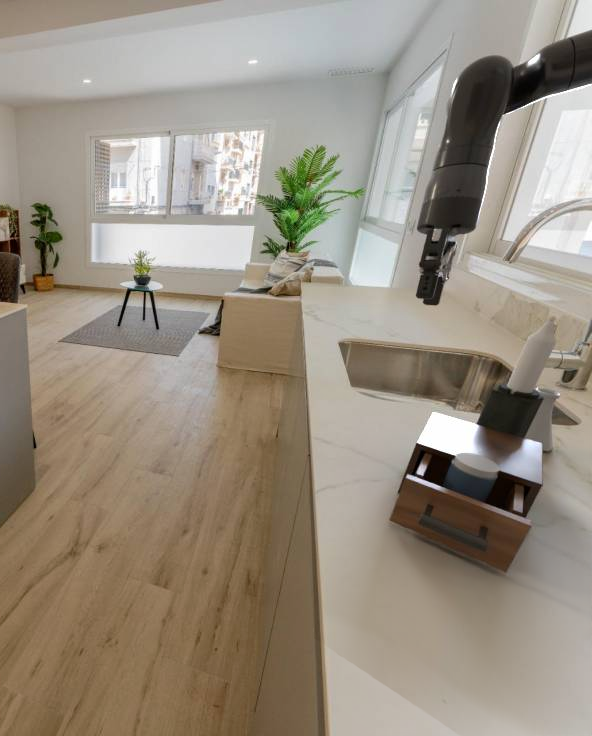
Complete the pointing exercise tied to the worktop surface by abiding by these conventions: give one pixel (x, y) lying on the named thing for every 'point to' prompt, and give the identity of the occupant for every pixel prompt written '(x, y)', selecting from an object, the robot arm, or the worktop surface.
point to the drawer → (463, 514)
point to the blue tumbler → (471, 476)
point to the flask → (543, 420)
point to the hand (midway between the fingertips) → (427, 302)
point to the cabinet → (482, 451)
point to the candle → (520, 387)
